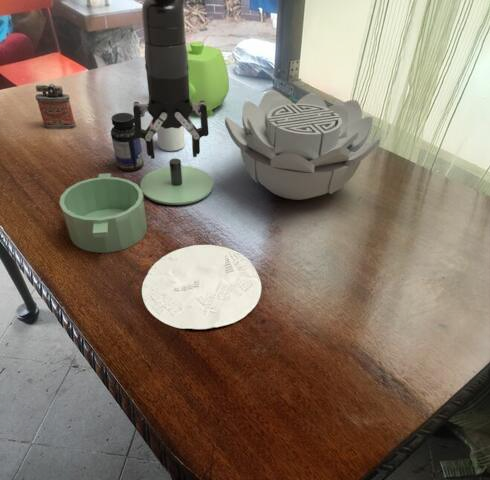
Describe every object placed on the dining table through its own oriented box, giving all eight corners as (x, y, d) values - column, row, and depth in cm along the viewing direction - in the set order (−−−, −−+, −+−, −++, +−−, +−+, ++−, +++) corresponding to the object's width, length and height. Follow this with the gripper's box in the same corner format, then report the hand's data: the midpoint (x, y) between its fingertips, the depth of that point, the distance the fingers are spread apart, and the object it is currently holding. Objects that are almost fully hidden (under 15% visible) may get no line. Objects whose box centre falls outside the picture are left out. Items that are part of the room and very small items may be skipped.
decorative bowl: (320, 145, 115) (331, 81, 104) (388, 205, 96) (409, 135, 85) (208, 163, 106) (206, 96, 95) (259, 233, 88) (264, 160, 77)
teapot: (171, 86, 139) (166, 26, 127) (238, 97, 135) (239, 36, 123) (133, 117, 123) (123, 51, 111) (207, 130, 118) (205, 63, 107)
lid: (141, 209, 92) (137, 182, 88) (140, 172, 103) (136, 145, 98) (217, 204, 94) (217, 177, 90) (208, 168, 105) (208, 142, 100)
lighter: (77, 123, 119) (67, 82, 111) (74, 129, 116) (64, 87, 109) (45, 123, 118) (34, 82, 111) (42, 129, 116) (30, 87, 109)
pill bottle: (136, 157, 107) (129, 109, 99) (148, 167, 104) (142, 118, 96) (112, 163, 105) (103, 115, 97) (124, 174, 101) (115, 125, 93)
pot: (64, 265, 79) (53, 231, 74) (74, 203, 93) (65, 172, 88) (148, 258, 81) (143, 225, 76) (146, 199, 95) (142, 168, 90)
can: (175, 154, 109) (170, 102, 100) (153, 147, 111) (147, 96, 102) (190, 144, 113) (187, 93, 104) (168, 138, 115) (164, 87, 106)
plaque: (209, 236, 86) (208, 229, 85) (285, 291, 77) (286, 284, 75) (119, 286, 77) (117, 279, 76) (193, 355, 68) (192, 348, 66)
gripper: (204, 62, 85) (206, 146, 96) (127, 62, 83) (138, 149, 94) (209, 76, 80) (210, 163, 91) (126, 77, 78) (138, 166, 89)
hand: (173, 156), depth 93 cm, fingers open, 8 cm apart
